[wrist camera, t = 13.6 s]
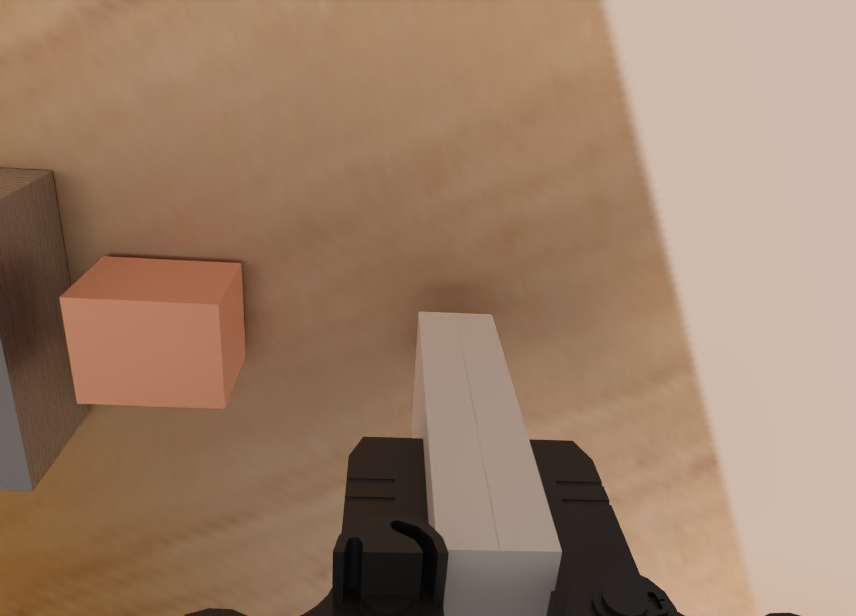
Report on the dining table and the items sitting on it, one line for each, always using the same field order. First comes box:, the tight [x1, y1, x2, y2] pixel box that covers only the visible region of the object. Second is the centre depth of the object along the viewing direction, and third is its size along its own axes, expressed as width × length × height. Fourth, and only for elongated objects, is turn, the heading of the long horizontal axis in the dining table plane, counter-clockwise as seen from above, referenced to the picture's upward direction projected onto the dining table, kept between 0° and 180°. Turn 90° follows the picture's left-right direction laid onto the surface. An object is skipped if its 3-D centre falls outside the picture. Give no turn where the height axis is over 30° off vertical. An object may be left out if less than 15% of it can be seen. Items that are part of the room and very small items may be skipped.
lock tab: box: [59, 256, 246, 409], centre depth 15 cm, size 3×2×2 cm
